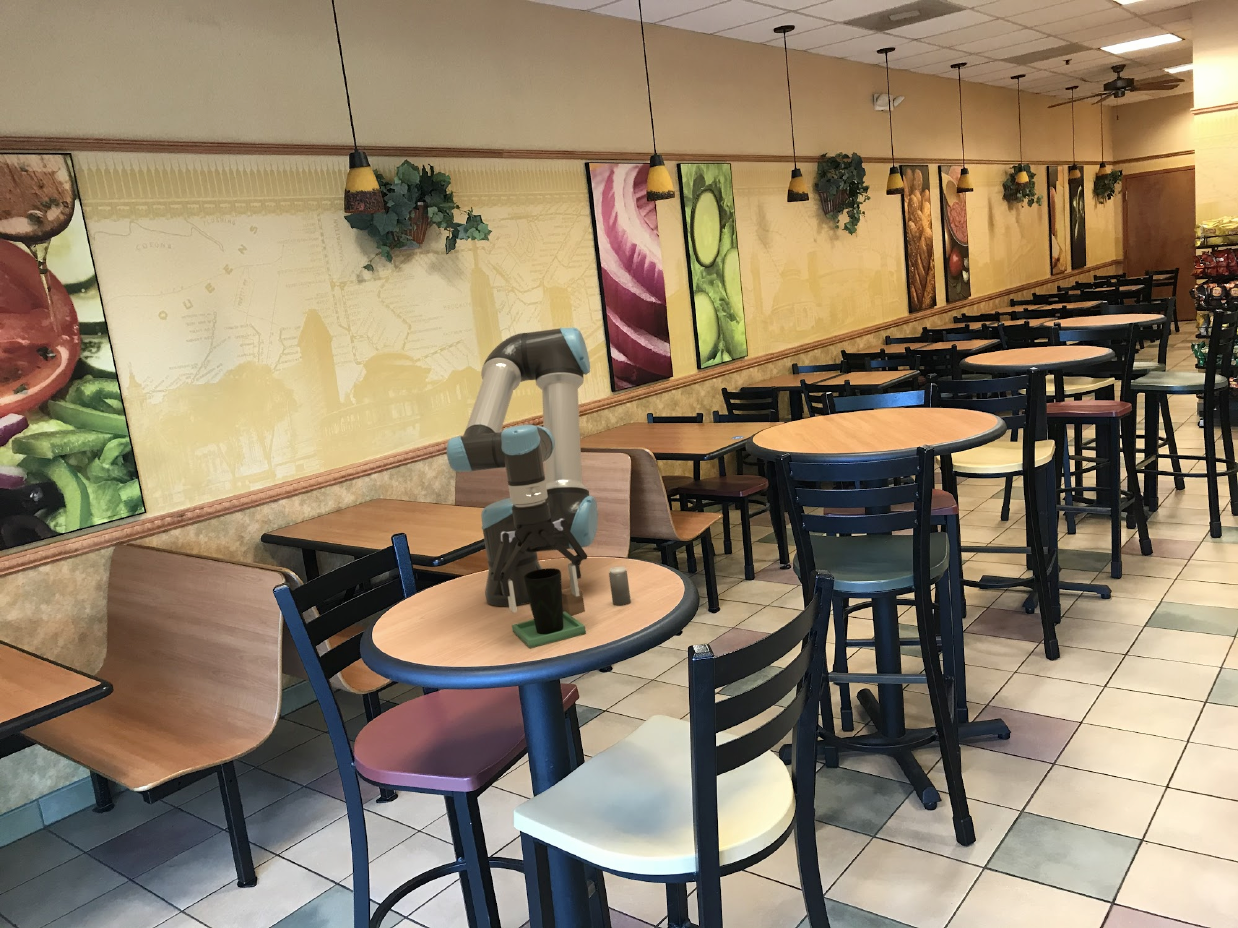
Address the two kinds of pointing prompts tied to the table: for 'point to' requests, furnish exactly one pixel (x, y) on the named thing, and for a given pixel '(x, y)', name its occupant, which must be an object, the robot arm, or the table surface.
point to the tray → (534, 639)
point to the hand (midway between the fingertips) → (544, 602)
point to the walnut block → (572, 602)
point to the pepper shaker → (619, 586)
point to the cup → (545, 599)
